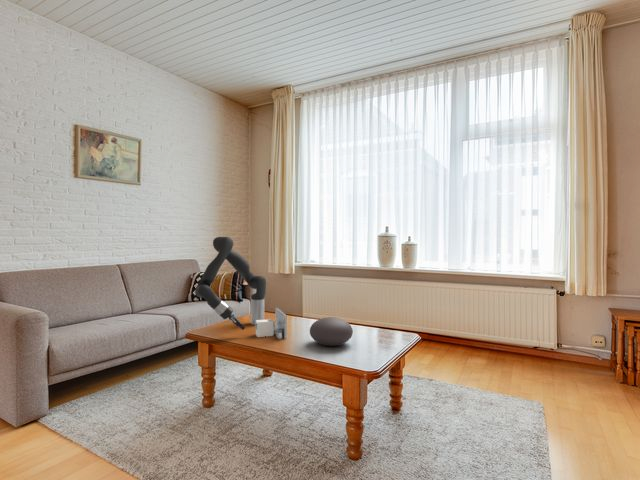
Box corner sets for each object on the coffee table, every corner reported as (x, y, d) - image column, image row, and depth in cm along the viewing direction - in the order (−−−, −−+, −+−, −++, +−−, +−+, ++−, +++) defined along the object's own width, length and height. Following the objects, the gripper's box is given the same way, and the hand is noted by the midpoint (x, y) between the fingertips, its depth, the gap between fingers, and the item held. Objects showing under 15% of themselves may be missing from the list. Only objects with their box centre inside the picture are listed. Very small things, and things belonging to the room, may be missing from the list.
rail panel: (269, 329, 235) (269, 308, 235) (277, 328, 237) (277, 307, 237) (278, 339, 213) (278, 315, 213) (286, 338, 215) (286, 315, 215)
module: (254, 334, 223) (254, 319, 223) (271, 333, 227) (271, 318, 226) (256, 337, 217) (256, 321, 217) (273, 335, 221) (273, 320, 221)
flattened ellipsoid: (358, 341, 212) (358, 315, 211) (343, 353, 189) (344, 325, 189) (320, 336, 222) (320, 311, 222) (301, 347, 199) (302, 320, 199)
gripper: (229, 307, 208) (250, 326, 213) (226, 302, 221) (246, 321, 225) (219, 316, 206) (241, 336, 211) (217, 312, 219) (238, 330, 223)
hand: (243, 328), depth 218 cm, fingers closed
